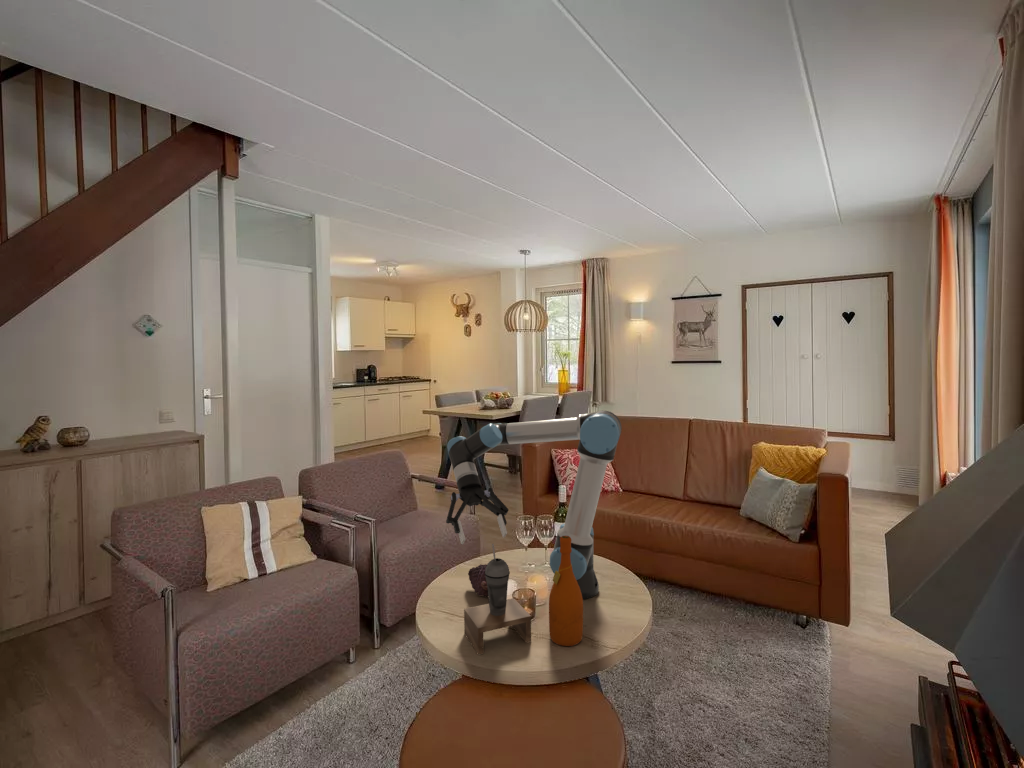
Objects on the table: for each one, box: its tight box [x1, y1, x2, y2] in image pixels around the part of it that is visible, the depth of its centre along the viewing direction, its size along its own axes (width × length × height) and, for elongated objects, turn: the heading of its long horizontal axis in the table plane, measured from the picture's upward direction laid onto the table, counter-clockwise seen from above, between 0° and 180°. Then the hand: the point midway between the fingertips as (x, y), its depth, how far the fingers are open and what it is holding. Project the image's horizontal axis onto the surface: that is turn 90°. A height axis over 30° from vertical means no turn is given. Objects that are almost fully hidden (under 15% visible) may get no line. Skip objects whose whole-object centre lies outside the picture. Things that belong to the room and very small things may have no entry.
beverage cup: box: [485, 543, 511, 616], centre depth 148 cm, size 7×7×20 cm
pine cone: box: [467, 563, 488, 597], centre depth 176 cm, size 18×10×10 cm, turn 37°
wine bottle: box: [548, 536, 584, 647], centre depth 147 cm, size 10×10×30 cm
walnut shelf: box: [463, 598, 532, 655], centre depth 148 cm, size 16×12×8 cm
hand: (484, 538), depth 155 cm, fingers open, 13 cm apart
